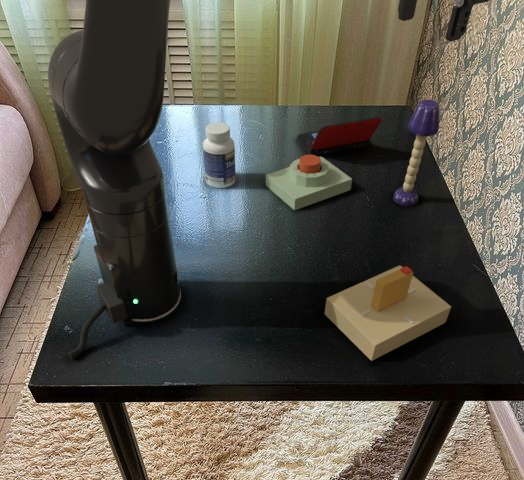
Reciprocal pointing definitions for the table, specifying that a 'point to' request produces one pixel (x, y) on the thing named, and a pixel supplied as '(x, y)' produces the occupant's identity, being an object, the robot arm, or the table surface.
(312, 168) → the bell button
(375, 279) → the plate
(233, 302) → the table surface
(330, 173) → the pale green button base
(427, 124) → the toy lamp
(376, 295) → the lock knob
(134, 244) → the robot arm
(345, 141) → the handheld game console
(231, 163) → the pill bottle
